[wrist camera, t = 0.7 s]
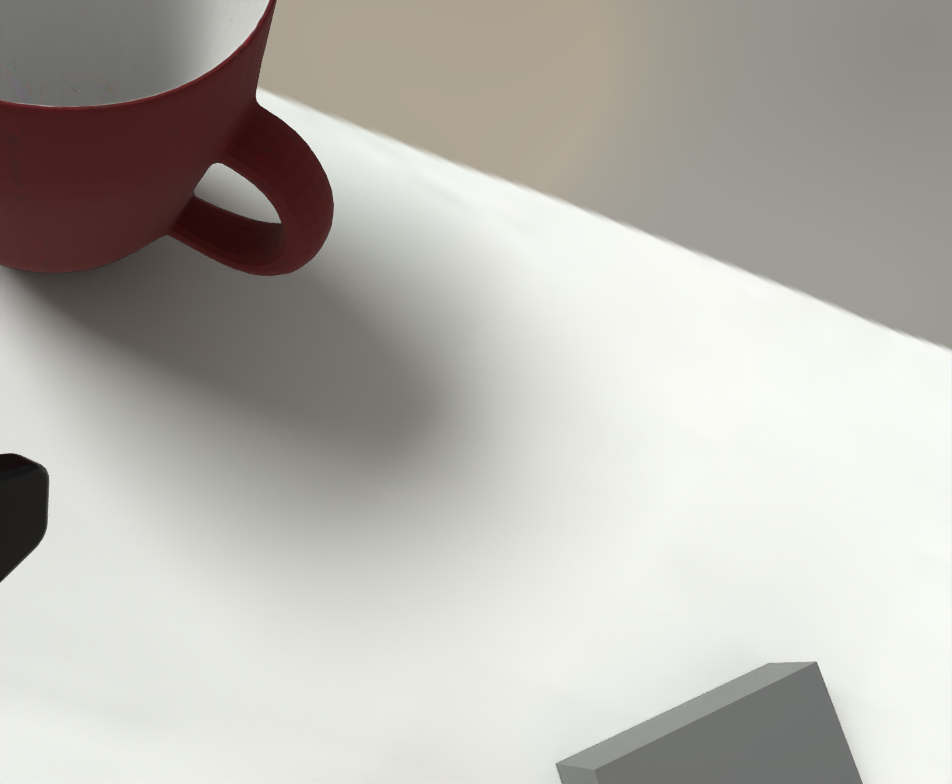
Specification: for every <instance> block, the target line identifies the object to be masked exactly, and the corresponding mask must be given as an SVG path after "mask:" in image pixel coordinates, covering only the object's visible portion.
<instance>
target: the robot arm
mask: <svg viewBox="0 0 952 784" xmlns="http://www.w3.org/2000/svg"><path fill="white" fill-rule="evenodd" d="M48 498H49V475H48V472H47V470H46V468H45V467H43V466H42V465H41V464H39V463H37V462H34V461H32V460H30V459H28V458H26V457H23V456H21V455H18V454H13V453H8V454H0V582H2V581H3V580H4V579H5V578H6V577H7V576H8V575H9V574H10V573H11V572H12V571H13V570H14V569H15V568H16V567H17V566H18V565H19V564H20V563H21V562H22V561H23V560H24V559H25V558H26V557H27V556H28V555H29V554H30V553H31V552H32V551H33V550H34V549H35V548H36V547H37V546H38V545H39V543H40V542H41V540H42V539H43V537H44V535H45V532H46V529H47V523H48Z"/></svg>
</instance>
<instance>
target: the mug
mask: <svg viewBox="0 0 952 784" xmlns="http://www.w3.org/2000/svg"><path fill="white" fill-rule="evenodd" d="M275 4H276V0H0V265H3V266H7V267H11V268H15V269H20V270H25V271H33V272H42V273H64V272H75V271H82V270H88V269H92V268H97V267H100V266H103V265H106V264H109V263H112V262H114V261H117V260H119V259H121V258H124V257H126V256H128V255H130V254H132V253H134V252H136V251H138V250H139V249H141V248H143V247H145V246H146V245H148V244H150V243H152V242H153V241H155V240H157V239H158V238H160V237H162V236H164V235H169V236H171V237H173V238H175V239H177V240H179V241H181V242H182V243H184V244H186V245H188V246H190V247H191V248H193V249H195V250H197V251H198V252H200V253H202V254H204V255H206V256H208V257H209V258H212V259H214V260H216V261H218V262H220V263H222V264H224V265H226V266H229V267H231V268H234V269H236V270H240V271H243V272H246V273H250V274H255V275H264V276H273V275H280V274H287V273H291V272H293V271H295V270H298V269H299V268H301V267H302V266H304V265H305V264H307V263H308V262H309V261H310V260H311V259H312V258H313V257H314V256H315V255H316V254H317V253H318V251H319V250H320V249H321V247H322V245H323V244H324V242H325V240H326V238H327V236H328V234H329V231H330V229H331V225H332V219H333V210H334V203H333V195H332V190H331V187H330V184H329V181H328V178H327V175H326V173H325V171H324V170H323V168H322V166H321V164H320V162H319V160H318V159H317V157H316V155H315V154H314V153H313V151H312V150H311V148H310V147H309V146H308V144H307V143H306V142H305V141H304V140H303V139H302V138H301V137H300V135H299V134H298V133H297V132H296V131H295V130H293V129H292V128H291V127H290V126H289V125H287V124H286V123H285V122H284V121H283V120H281V119H280V118H278V117H277V116H275V115H274V114H272V113H271V112H269V111H268V110H266V109H265V108H263V107H262V106H260V105H259V104H258V102H257V101H256V89H257V83H258V78H259V73H260V68H261V62H262V58H263V54H264V51H265V47H266V42H267V38H268V34H269V30H270V25H271V21H272V17H273V13H274V9H275ZM214 163H222V164H224V165H226V166H227V167H229V168H231V169H233V170H234V171H236V172H237V173H239V174H240V175H242V176H243V177H245V178H246V179H247V180H249V181H250V182H251V183H252V184H254V185H255V186H256V187H257V188H258V189H259V190H260V191H261V192H262V193H263V194H264V195H265V196H266V197H267V198H268V200H269V201H270V202H271V203H272V205H273V206H274V208H275V209H276V211H277V213H278V215H279V218H280V220H281V224H279V223H268V222H262V221H257V220H253V219H250V218H246V217H243V216H240V215H237V214H234V213H232V212H229V211H227V210H224V209H221V208H219V207H217V206H214V205H212V204H210V203H208V202H206V201H204V200H202V199H200V198H198V197H196V196H195V195H194V189H195V187H196V186H197V184H198V183H199V181H200V180H201V178H202V177H203V175H204V174H205V172H206V171H207V170H208V168H209V167H210V166H211V165H212V164H214Z"/></svg>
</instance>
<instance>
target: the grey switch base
mask: <svg viewBox="0 0 952 784" xmlns="http://www.w3.org/2000/svg"><path fill="white" fill-rule="evenodd" d="M556 766H557V769H558V772H559V775H560V779H561V782H562V784H863V783H862V781H861V778H860V775H859V773H858V770H857V767H856V765H855V762H854V760H853V757H852V754H851V752H850V749H849V746H848V744H847V741H846V738H845V736H844V733H843V730H842V728H841V725H840V722H839V720H838V717H837V714H836V712H835V709H834V706H833V704H832V701H831V699H830V696H829V693H828V691H827V688H826V685H825V683H824V680H823V677H822V675H821V672H820V669H819V667H818V664H817V662H789V663H768V664H766V665H764V666H762V667H760V668H758V669H756V670H754V671H751V672H749V673H747V674H745V675H743V676H741V677H739V678H737V679H734V680H732V681H730V682H728V683H726V684H724V685H722V686H720V687H717V688H715V689H713V690H711V691H709V692H707V693H705V694H703V695H700V696H698V697H696V698H694V699H692V700H690V701H688V702H686V703H684V704H681V705H679V706H677V707H675V708H673V709H671V710H669V711H667V712H664V713H662V714H660V715H658V716H656V717H654V718H652V719H650V720H647V721H645V722H643V723H641V724H639V725H637V726H635V727H633V728H630V729H628V730H626V731H624V732H622V733H620V734H618V735H616V736H613V737H611V738H609V739H607V740H605V741H603V742H601V743H599V744H596V745H594V746H592V747H590V748H588V749H586V750H584V751H582V752H580V753H577V754H575V755H573V756H571V757H569V758H567V759H565V760H563V761H560V762H558V763H556Z"/></svg>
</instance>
